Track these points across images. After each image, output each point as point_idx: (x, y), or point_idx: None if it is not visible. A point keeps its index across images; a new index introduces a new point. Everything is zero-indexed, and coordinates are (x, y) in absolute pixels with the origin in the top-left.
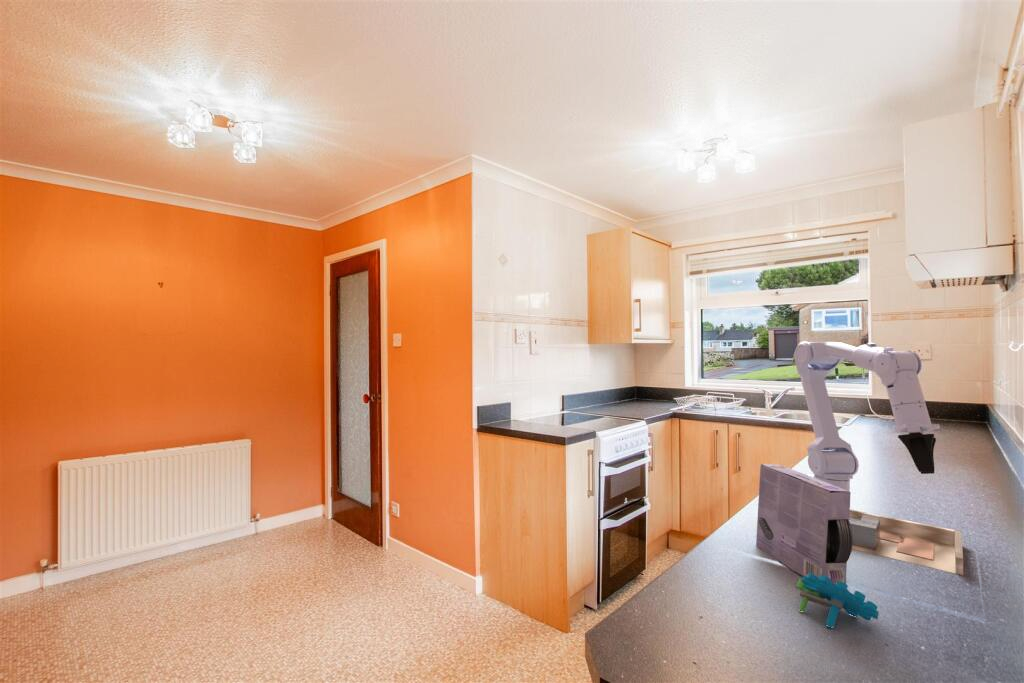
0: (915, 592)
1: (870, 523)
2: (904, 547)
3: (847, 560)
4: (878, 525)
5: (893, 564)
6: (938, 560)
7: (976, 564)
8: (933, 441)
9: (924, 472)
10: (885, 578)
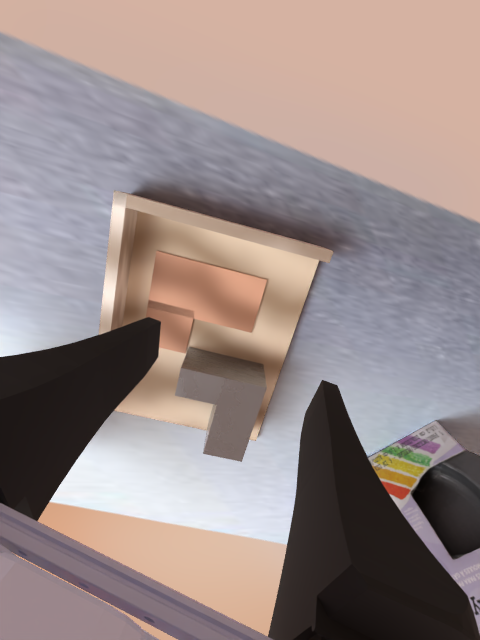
0: (415, 337)
1: (232, 391)
2: (221, 315)
3: (473, 453)
4: (212, 370)
5: (303, 343)
6: (261, 269)
7: (225, 194)
8: (6, 405)
9: (155, 350)
10: (374, 366)
